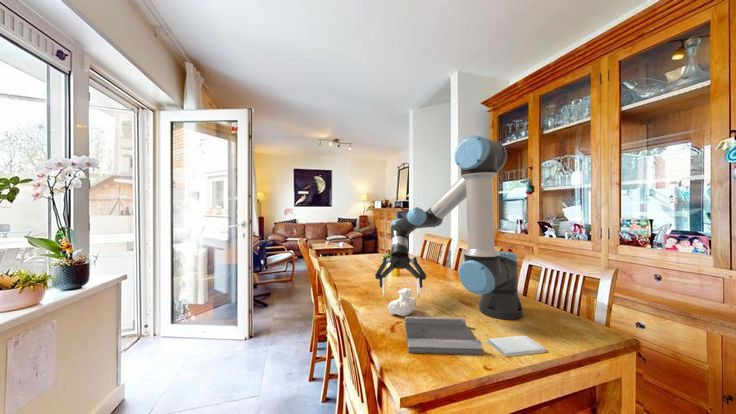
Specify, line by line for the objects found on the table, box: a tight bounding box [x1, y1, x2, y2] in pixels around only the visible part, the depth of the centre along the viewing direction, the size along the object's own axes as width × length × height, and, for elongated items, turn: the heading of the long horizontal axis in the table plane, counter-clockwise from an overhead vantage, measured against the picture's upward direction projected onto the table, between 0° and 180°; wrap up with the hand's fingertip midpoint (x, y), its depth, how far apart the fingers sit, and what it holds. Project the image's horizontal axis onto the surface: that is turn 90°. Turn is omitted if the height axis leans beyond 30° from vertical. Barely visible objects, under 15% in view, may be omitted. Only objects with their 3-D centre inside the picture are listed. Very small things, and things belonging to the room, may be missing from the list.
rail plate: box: [404, 316, 484, 356], centre depth 84 cm, size 20×18×3 cm
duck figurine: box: [387, 287, 417, 317], centre depth 102 cm, size 12×8×11 cm
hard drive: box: [486, 335, 547, 357], centre depth 78 cm, size 2×8×12 cm
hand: (401, 295), depth 104 cm, fingers open, 13 cm apart
